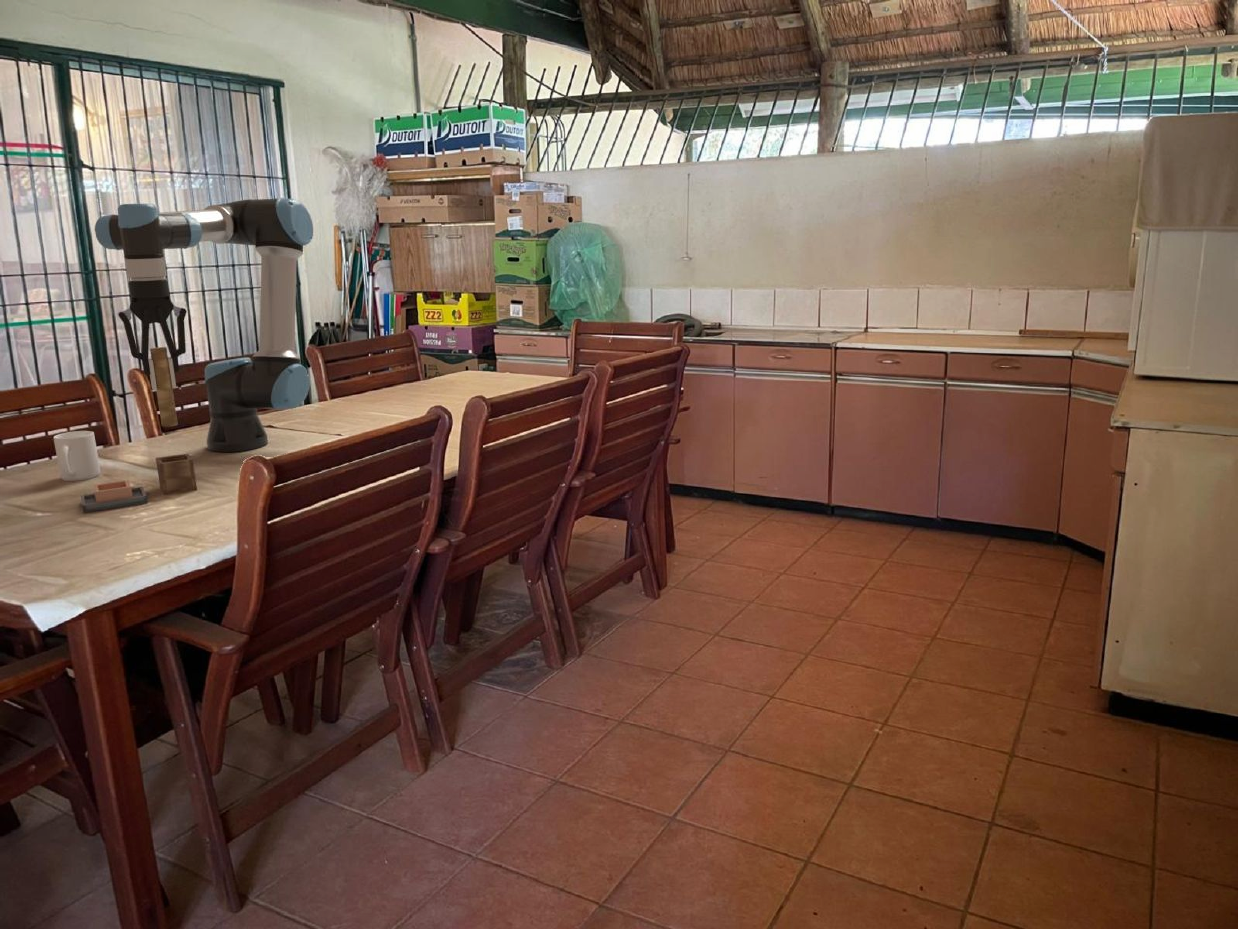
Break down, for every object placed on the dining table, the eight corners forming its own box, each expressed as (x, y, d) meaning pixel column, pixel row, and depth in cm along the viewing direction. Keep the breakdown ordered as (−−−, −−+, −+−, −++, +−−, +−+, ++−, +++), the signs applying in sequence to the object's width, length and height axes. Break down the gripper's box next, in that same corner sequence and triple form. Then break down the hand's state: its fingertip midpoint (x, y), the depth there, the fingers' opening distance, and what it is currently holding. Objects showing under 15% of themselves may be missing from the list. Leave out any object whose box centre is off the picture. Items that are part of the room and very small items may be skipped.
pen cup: (192, 482, 212) (188, 453, 210) (197, 489, 206) (192, 459, 205) (160, 487, 209) (155, 457, 207) (163, 494, 203) (159, 464, 201)
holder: (130, 493, 202) (128, 479, 201) (133, 500, 196) (131, 486, 196) (95, 498, 199) (93, 484, 198) (97, 506, 193) (94, 492, 192)
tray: (143, 493, 204) (142, 486, 204) (147, 503, 197) (146, 496, 197) (81, 502, 198) (80, 495, 198) (83, 513, 191) (82, 505, 191)
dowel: (176, 422, 206) (165, 346, 202) (178, 425, 203) (167, 348, 199) (161, 424, 204) (149, 348, 200) (162, 427, 202) (150, 349, 197)
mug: (85, 484, 213) (77, 441, 210) (47, 486, 212) (39, 443, 209) (106, 471, 224) (99, 430, 221) (70, 473, 223) (62, 431, 220)
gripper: (186, 276, 203) (201, 381, 209) (103, 280, 195) (121, 390, 201) (191, 277, 197) (206, 386, 203) (105, 281, 189) (124, 395, 195)
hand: (164, 388), depth 202 cm, fingers closed on dowel, 3 cm apart
